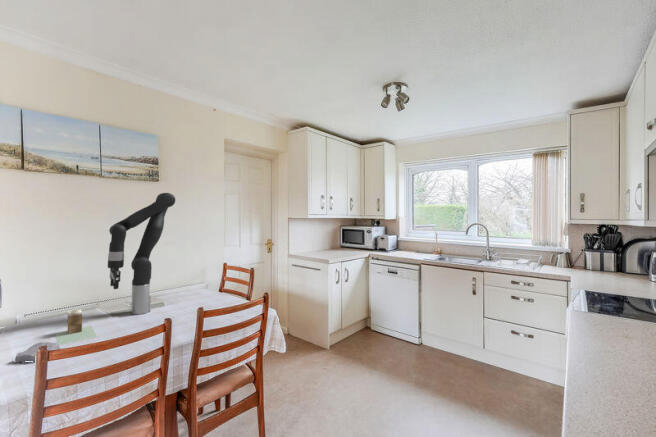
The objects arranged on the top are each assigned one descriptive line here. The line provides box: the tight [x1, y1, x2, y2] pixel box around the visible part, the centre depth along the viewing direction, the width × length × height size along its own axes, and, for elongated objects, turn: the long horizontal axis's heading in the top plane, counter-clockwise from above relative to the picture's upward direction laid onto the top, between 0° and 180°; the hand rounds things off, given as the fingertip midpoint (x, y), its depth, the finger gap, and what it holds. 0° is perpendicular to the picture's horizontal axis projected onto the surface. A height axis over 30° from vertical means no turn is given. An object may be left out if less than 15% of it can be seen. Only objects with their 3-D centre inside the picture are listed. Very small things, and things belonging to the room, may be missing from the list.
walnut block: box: [67, 309, 83, 334], centre depth 149 cm, size 5×5×10 cm
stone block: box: [14, 341, 60, 364], centre depth 126 cm, size 12×5×10 cm
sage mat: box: [54, 325, 98, 346], centre depth 146 cm, size 14×18×1 cm
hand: (114, 287), depth 172 cm, fingers open, 8 cm apart
